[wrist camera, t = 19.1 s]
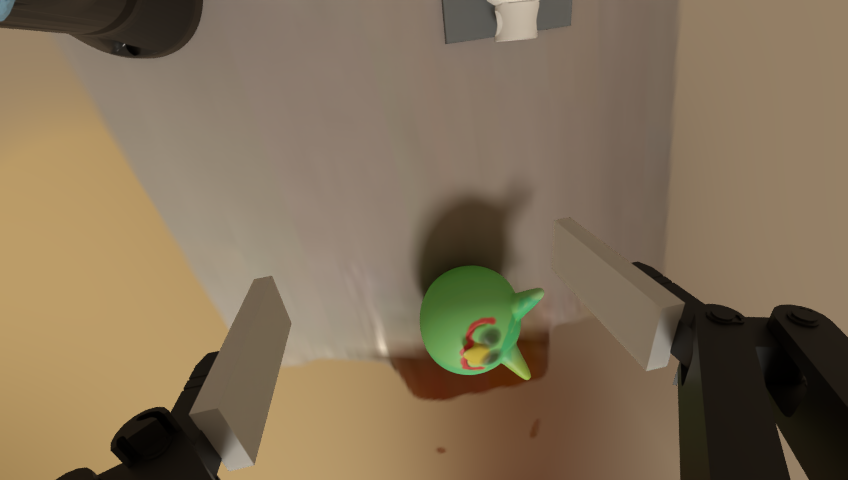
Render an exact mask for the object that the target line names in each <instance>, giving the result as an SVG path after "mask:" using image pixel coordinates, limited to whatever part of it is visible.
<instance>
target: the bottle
mask: <svg viewBox="0 0 848 480" xmlns="http://www.w3.org/2000/svg"><path fill="white" fill-rule="evenodd" d="M487 1H488V2H489V3H491V4H493V5H494V6H496V7H495V14H496V18H497V31H496V35H495V38H494V42H501V41H513V40H523V39H533V38H537V33H538V32H537V25H536V18H537V13H538V9H539V2H538V1H540V0H487Z"/></svg>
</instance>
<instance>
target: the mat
mask: <svg viewBox="0 0 848 480" xmlns="http://www.w3.org/2000/svg"><path fill="white" fill-rule="evenodd" d="M538 2H539V9H538V13H537V18H536V25H537V30H544V29H551V28H557V27H564V26H570V25H571V12H572V0H540V1H538ZM495 7H496V6H494V5H493V4H491V3H489V2H488V1H487V0H442V10H443V21H444V33H445V44H449V43H456V42H463V41H470V40H476V39H483V38H490V37H495V35H496V31H497V18H496V14H495Z"/></svg>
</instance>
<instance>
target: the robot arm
mask: <svg viewBox="0 0 848 480" xmlns="http://www.w3.org/2000/svg"><path fill="white" fill-rule="evenodd" d="M202 6H203V0H0V28H10V29H23V30H34V31H44V32H55V33H66V34H70V35H71V36H73V37H75V38H77V39H78V40H80V41H82V42H84V43H86V44H87V45H89V46H91V47H94V48H96V49H98V50H101V51H103V52H106V53H109V54H113V55H117V56H121V57H127V58H158V57H163V56H166V55H169V54H172V53H174V52H176V51H177V50H179V49H180V48H182V47H183V46H184V45H185V44H186V43H187V42H188V41H189V40H190V39H191V38H192V36H193V35H194V33H195V31H196V29H197V27H198V25H199V22H200V18H201V14H202ZM552 270H553V271H554V272H555V273H556V274H557V275H558V276H559V277H560V278H561V279H562V281H563V282H564V283H565V284H566V285H567V286H568V287H569V288H570V289H571V290H572V291H573V292H574V294H575V295H576V296H577V297H578V298H579V299H580V300H581V301H582V302H583V303H584V304H585V305H586V307H587V308H588V309H589V310H590V311H591V312H592V313H593V314H594V315H595V316H596V317H597V318H598V319H599V321H600V322H601V323H602V324H603V325H604V326H605V327H606V328H607V329H608V330H609V331H610V332H611V334H612V335H613V336H614V337H615V338H616V339H617V340H618V341H619V342H620V343H621V344H622V345H623V347H624V348H625V349H626V350H627V351H628V352H629V353H630V354H631V355H632V356H633V357H634V358H635V360H637V362H638V363H639V364H640V365H641V366H642V367H643V368H644V369H645V370H646V371H649V370H653V369H657V368H661V367H665V366H667V364H668V361H669V357H670V354H672V355H673V356H675V357H676V358H677V359H678V360H679V361H680V362H679V366H678V369H677V372H676V375H675V378H674V382H673V385H677V383H678V405H679V444H680V479H681V480H790V476H789V472H788V468H787V465H786V461H785V457H784V453H783V450H782V446H781V442H780V438H779V435H778V431H777V427H776V424H777V426H778V428H779V429H780V431H781V433H782V434H783V436H784V438H785V440H786V441H787V443H788V445H789V446H790V448H791V450H792V452H793V453H794V455H795V457H796V458H797V460H798V462H799V463H800V465H801V467H802V469H803V470H804V472H805V474H806V475H807V477H808V479H809V480H848V337H847V336H846V335H845V334H844V333H843V332H842V331H841V330H840V329H839V328H838V327H837V326H836V325H835V324H834V323H833V322H832V321H831V320H830V319H828V318H827V317H826V316H824V315H823V314H820V313H818V312H816V311H814V310H812V309H809V308H805V307H802V306H796V305H779V306H777V307H775V308H774V309H773V311H772V314H771V316H770V318H765V317H763V318H762V317H744V316H743V315H742V314H740V313H739V312H737V311H735V310H733V309H731V308H729V307H725V306H722V305H716V304H704V303H702V302H701V301H699V300H698V299H696V298H695V297H694V296H692V295H691V294H689V293H688V292H686V291H685V290H684V289H682V288H681V287H679V286H678V285H676V284H675V283H672V281H671V280H669V279H668V278H667V277H665V276H664V277H663V275H662V274H661V273H660V272H658V271H657V270H655V269H654V268H652V267H650V266H648V265H645V264H643V263H640V262H633V263H631V262H629V261H628V260H626V259H625V258H624V257H622V256H621V255H620V254H618V253H617V252H616V251H614V250H613V249H612V248H610V247H609V246H608V245H606V244H605V243H604V242H602V241H601V240H600V239H598V238H597V237H596V236H594V235H593V234H591V233H590V232H589V231H587V230H586V229H585V228H583V227H582V226H581V225H579V224H578V223H577V222H575V221H574V220H573V219H571V218H570V217H569V218H564V219H559V220H554V236H553V255H552ZM290 327H291V321H290V319H289V316H288V314H287V311H286V309H285V306H284V304H283V301H282V299H281V297H280V294H279V292H278V289H277V287H276V284H275V282H274V279H273V277H272V276H268V277H263V278H258V279H254V281H253V283H252V285H251V287H250V289H249V291H248V293H247V295H246V297H245V299H244V301H243V304H242V306H241V308H240V310H239V312H238V314H237V316H236V318H235V320H234V322H233V324H232V326H231V328H230V330H229V332H228V335H227V337H226V339H225V341H224V343H223V345H222V347H221V349H220V351H217V352H212V353H208V354H207V355H206V356H205V357H204V358H203V359H202V360H201V361H200V362H199V363H198V364H197V365H196V366H195V368H194V371H193V372H192V374H191V376H190V377H189V381H187V383H186V385H185V387H184V391H182V392H181V394H180V396H179V398H178V400H177V402H176V403H175V405H174V407H173V409H172V411H171V413H170V412H169V410H167V409H166V408H164V407H155V408H152V409H148V410H145V411H143V412H141V413H140V414H138V415H136V416H134V417H133V418H132V419H130V420H129V421H128V422H127V423H125V424H124V425H123V426H122V427H121V428H120V430H119V431H118V432H117V433H116V434H115V436H114V438H113V440H112V442H111V451H112V452H113V453H114V454H115V455H116V456H117V457H118V458H119V460H121V462H122V464H119V465H117V466H116V467H113V468H111V469H109V470H107V471H105V472H103V473H101V474H99V475H96V474H95V473H94V472H93V471H92V470H90V469H88V468H78V469H75V470H73V471H71V472H68V473H65V474H64V475H62V476H61V477H59V478H58V479H56V480H220V478H219V477H218V476H217V472H218V469H219V466H220V463H221V461H222V462H223V463H224V465H225V466H226V468H227V469H228V470H229V471H232V470H236V469H241V468H244V467H249V466H253V465H255V461H256V457H257V453H258V449H259V445H260V442H261V438H262V434H263V430H264V426H265V423H266V419H267V415H268V411H269V407H270V403H271V400H272V396H273V391H274V388H275V384H276V380H277V377H278V373H279V369H280V365H281V361H282V358H283V354H284V350H285V346H286V342H287V338H288V335H289V331H290Z"/></svg>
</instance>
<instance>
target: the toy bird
mask: <svg viewBox="0 0 848 480" xmlns="http://www.w3.org/2000/svg"><path fill="white" fill-rule="evenodd" d="M543 295H544V290H543V289H542V288H535V289H531V290H527V291H523V292H519V293H515V292H514V290H513V288H512V287H511V285H510V284H509V282H508V281H507V280H506V279H505V278H504V277H503V276H501V275H500V274H498V273H497V272H495V271H493V270H491V269H488V268H485V267H481V266H472V265H469V266H461V267H457V268H454V269H451V270H449V271H447V272H445V273H444V274H442V275H441V276H439V277H438V278H437V279H436V280H435V281H434V282H433V283H432V284H431V286H430V287H429V289H428V290H427V292H426V294H425V296H424V299H423V302H422V305H421V310H420V330H421V335H422V339H423V342H424V344H425V347H426V349H427V351H428V352H429V354H430V355H431V357H432V358H433V359H434V360H435V361H436V362H437V363H438V364H439V365H440V366H442V367H443V368H445V369H447V370H449V371H451V372H454V373H458V374H464V375H474V374H480V373H484V372H486V371H489V370H491V369H493V368H494V367H496V366H497V365H499V364H500V363H502V364H504V365H505V366H507V367H508V368H509V369H511V370H512V371H513V372H515V373H516V374H517V375H519V376H520V377H522V378H523V379H525V380H529V379H530V377H531V375H530V371H529V369H528V366H527V364H526V362H525V360H524V359H523V357H522V355H521V353H520V351H519V349H518V347H517V344H516V342H517V339H518V336H519V333H520V327H521V318H522V317H523V316H524V315H525V314H526V313H527V312H528V311H529V310H531V309H532V308H533V307H534V306H535V305H536V304H537V303H538V302H539V301H540V300H541V298H542V297H543Z"/></svg>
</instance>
